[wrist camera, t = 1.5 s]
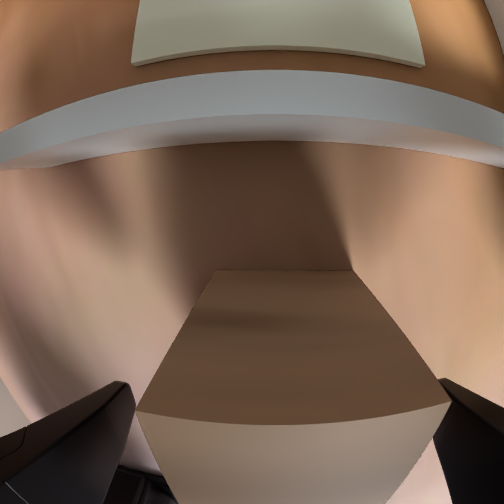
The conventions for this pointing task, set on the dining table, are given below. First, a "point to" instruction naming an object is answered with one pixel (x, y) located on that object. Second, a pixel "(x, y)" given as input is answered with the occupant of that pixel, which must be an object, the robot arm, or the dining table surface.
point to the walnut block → (289, 394)
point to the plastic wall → (261, 116)
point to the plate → (276, 28)
